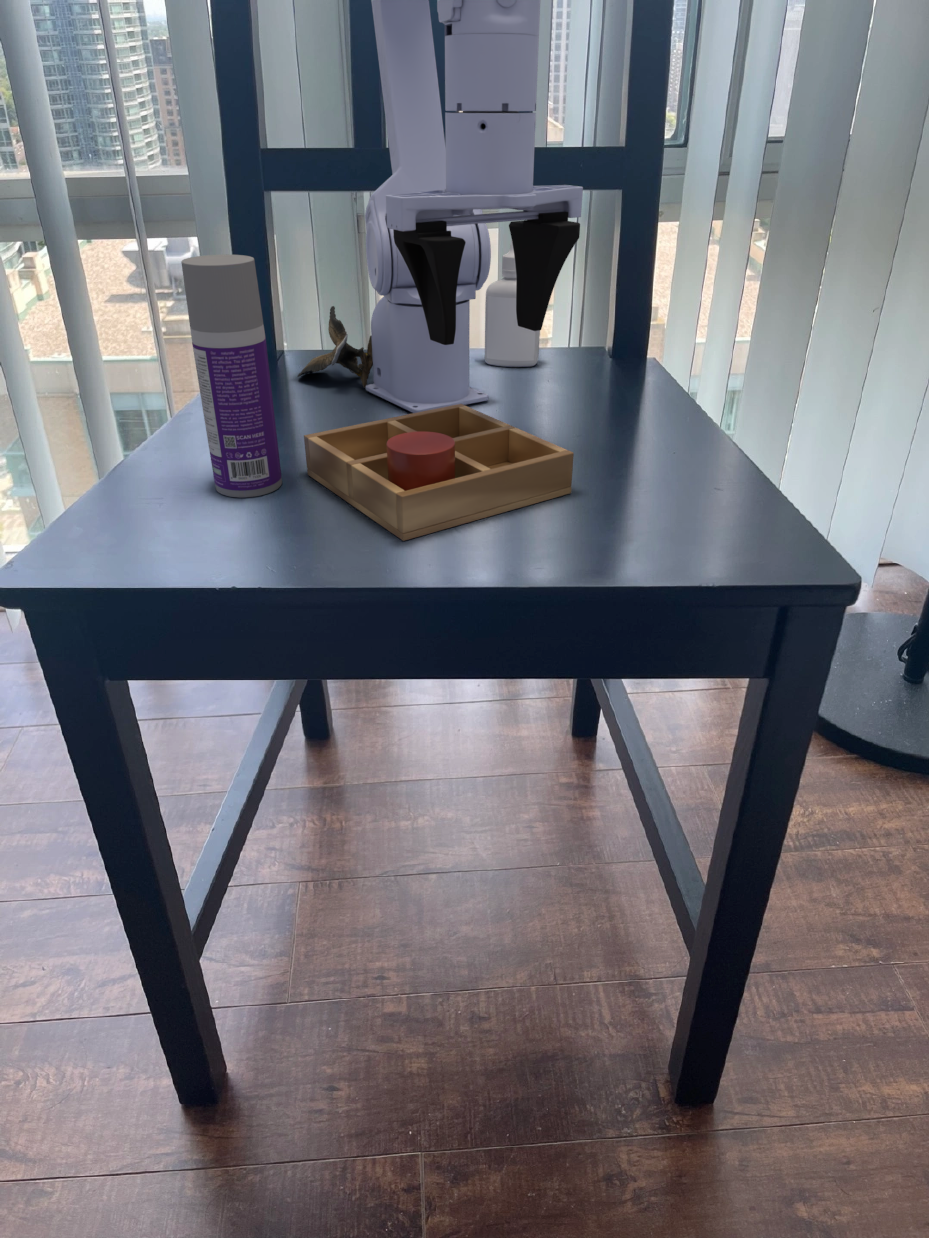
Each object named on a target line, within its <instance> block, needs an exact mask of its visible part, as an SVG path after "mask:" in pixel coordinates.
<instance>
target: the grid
mask: <svg viewBox="0 0 929 1238" xmlns="http://www.w3.org/2000/svg"><path fill="white" fill-rule="evenodd" d="M409 432H435V433H441V434H444V435H447V436H449V437H451V438H452V439H453V440H454V441H455V478H454V479H451V480H447V481H443V482H439V483H435V484H431V485H427V486H423V487H419V488H415V489H411V490H407V491H405V490H403V489H401V488H400V487H398V486H397V485H395V484H393V483H392V482H390V481H388V465H387V441H388V440H389V439H390V438H392V437H394V436H396V435H399V434H403V433H409ZM303 440H304V451H305V464H306V473H307V476H309V477H310V478H312V479H314V480H315V481H316V482H318V483H319V484H321V485H322V486H323V487H325V488H326V489H327V490H329V491H330V492H332V493H333V494H335V495H337V496H338V497H339V498H340V499H343V500H344V501H345V502H346V503H348V504H350V505H351V506H352V507H354V508H355V509H356V510H358V511H359V512H361V513H362V514H364V515H366V517H368V518H370V519H371V520H372V521H374V522H376V523H377V524H378V525H380V527H382V528H383V529H385V530H386V531H388V532H389V533H391V534H392V535H394V536H395V537H397V538H398V539H400V540H401V541H402V542H404V541H408V540H411V539H415V538H418V537H422V536H426V535H429V534H433V533H436V532H440V531H444V530H446V529H447V530H448V529H450V528H454V527H458V526H461V525H465V524H467V523H472V522H476V521H479V520H482V519H486V518H489V517H493V516H497V515H499V514H503V513H506V512H509V511H510V512H511V511H514V510H517V509H521V508H525V507H528V506H531V505H534V504H538V503H541V502H545V501H549V500H552V499H556V498H559V497H562V496H566V495H570V494H572V483H573V471H574V469H573V468H574V454H575V453H574V452H573V451H571V450H569V449H566V448H564V447H561V446H559V445H557V444H555V443H553V442H550V441H548V440H545V439H543V438H541V437H539V436H537V435H534V434H532V433H529V432H527V431H525V430H523V429H520V428H518V427H515V426H513V425H511V424H509V423H507V422H504V421H502V420H500V419H497V418H495V417H493V416H491V415H488V414H486V413H483V412H481V411H479V410H476V409H474V408H472V407H469V406H468V405H463V404H457V405H452V406H447V407H442V408H437V409H432V410H427V411H422V412H417V413H412V412H411V413H408V414H402V415H398V416H392V417H388V418H383V419H377V420H374V421H368V422H363V423H358V424H353V425H349V426H348V425H347V426H343V427H338V428H334V429H333V428H332V429H329V430H324V431H317V432H314V433H309V434H304V435H303Z"/></svg>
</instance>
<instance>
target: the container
mask: <svg viewBox="0 0 929 1238" xmlns="http://www.w3.org/2000/svg"><path fill="white" fill-rule="evenodd" d="M180 264H181V271H182V277H183V284H184V291H185V299H186V300H185V301H186V308H187V313H188V314H187V315H188V322H189V323H188V324H189V329H190V338H191V344H192V350H193V357H194V364H195V369H196V376H197V382H198V388H199V395H200V401H201V407H202V413H203V418H204V426H205V431H206V432H205V433H206V437H207V444H208V450H209V456H210V464H211V469H212V474H213V475H212V476H213V481H214V487H215V490H216V492H218V493H219V494H221V495H222V496H226V497H231V498H255V497H260V496H265V495H268V494H271V493H273V492H275V491H276V490H278V489H279V488H280V487H281V486H282V485H283V479H282V478H283V477H282V468H281V460H280V451H279V443H278V434H277V425H276V415H275V407H274V398H273V389H272V382H271V373H270V365H269V356H268V347H267V339H266V333H265V326H264V317H263V310H262V305H261V298H260V297H261V296H260V290H259V282H258V276H257V269H256V262H255V258H254V257H253V256H250V255H243V254H207V255H196V256H191V257H187V258H184V259H182V260H181V261H180Z"/></svg>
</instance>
